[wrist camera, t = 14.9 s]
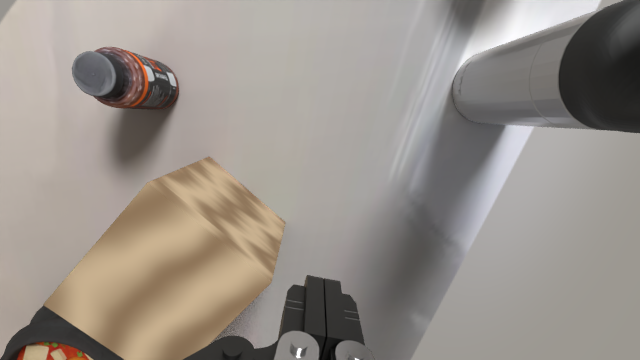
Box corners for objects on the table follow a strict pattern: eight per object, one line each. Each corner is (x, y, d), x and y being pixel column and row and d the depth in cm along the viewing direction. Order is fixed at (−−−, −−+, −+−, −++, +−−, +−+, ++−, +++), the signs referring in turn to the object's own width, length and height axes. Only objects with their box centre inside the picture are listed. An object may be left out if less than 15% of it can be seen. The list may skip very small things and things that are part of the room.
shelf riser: (285, 222, 43) (271, 282, 27) (214, 295, 45) (165, 387, 30) (209, 156, 40) (147, 182, 25) (138, 236, 42) (43, 304, 27)
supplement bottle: (183, 67, 38) (130, 48, 27) (177, 114, 39) (124, 114, 28) (135, 56, 37) (61, 31, 26) (131, 103, 38) (58, 99, 27)
